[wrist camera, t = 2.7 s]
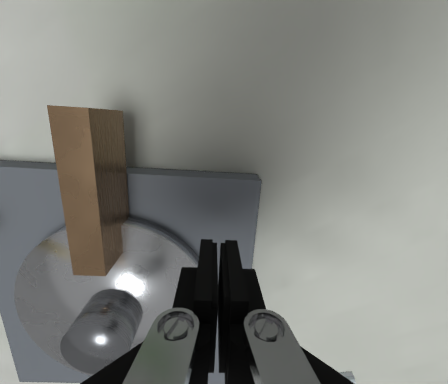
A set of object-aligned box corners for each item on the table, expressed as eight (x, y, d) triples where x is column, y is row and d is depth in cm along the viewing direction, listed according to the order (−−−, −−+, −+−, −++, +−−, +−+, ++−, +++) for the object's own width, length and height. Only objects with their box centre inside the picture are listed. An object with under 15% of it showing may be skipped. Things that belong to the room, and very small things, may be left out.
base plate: (-13, 159, 17) (-127, 179, 12) (257, 174, 18) (274, 200, 12) (36, 360, 23) (-24, 439, 17) (236, 364, 24) (242, 441, 18)
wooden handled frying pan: (-11, 102, 14) (-112, 94, 10) (221, 117, 15) (222, 116, 10) (46, 360, 20) (0, 425, 16) (207, 363, 21) (205, 427, 17)
